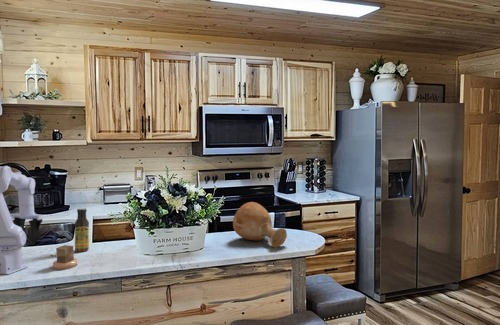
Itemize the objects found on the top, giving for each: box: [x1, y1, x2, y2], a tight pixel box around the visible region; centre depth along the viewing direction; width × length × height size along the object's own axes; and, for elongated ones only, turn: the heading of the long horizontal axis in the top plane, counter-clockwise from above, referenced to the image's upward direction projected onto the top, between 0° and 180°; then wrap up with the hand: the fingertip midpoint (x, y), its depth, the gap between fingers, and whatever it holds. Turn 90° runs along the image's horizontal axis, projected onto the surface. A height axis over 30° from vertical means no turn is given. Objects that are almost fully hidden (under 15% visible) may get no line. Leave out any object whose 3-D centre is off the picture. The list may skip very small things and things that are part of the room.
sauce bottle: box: [74, 207, 90, 253], centre depth 186 cm, size 6×6×20 cm
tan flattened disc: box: [52, 257, 78, 271], centre depth 164 cm, size 9×9×2 cm
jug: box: [232, 201, 288, 248], centre depth 196 cm, size 20×19×30 cm
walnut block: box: [55, 244, 75, 263], centre depth 163 cm, size 4×4×6 cm
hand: (28, 235), depth 175 cm, fingers open, 7 cm apart
